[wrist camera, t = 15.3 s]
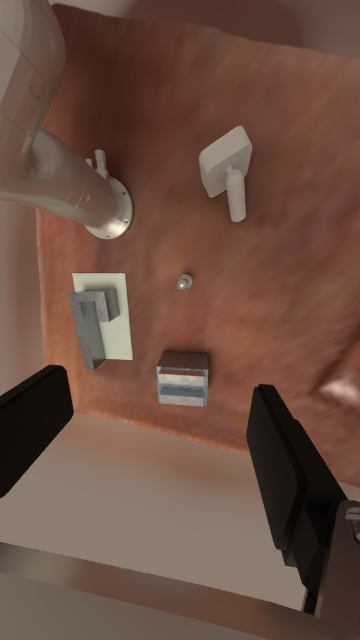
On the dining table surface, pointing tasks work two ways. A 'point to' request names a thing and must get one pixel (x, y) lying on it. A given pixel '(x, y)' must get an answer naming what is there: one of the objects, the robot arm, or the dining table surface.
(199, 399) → the grey metal pieces
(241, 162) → the wall hook
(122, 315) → the mat
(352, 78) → the dining table surface
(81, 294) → the crook
